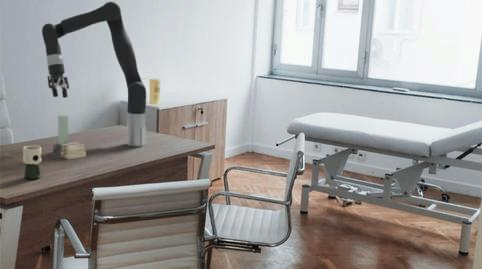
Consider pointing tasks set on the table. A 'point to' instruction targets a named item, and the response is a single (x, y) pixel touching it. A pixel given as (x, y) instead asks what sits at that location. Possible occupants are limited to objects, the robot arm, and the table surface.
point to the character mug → (32, 161)
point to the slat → (62, 129)
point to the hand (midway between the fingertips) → (60, 97)
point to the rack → (68, 151)
